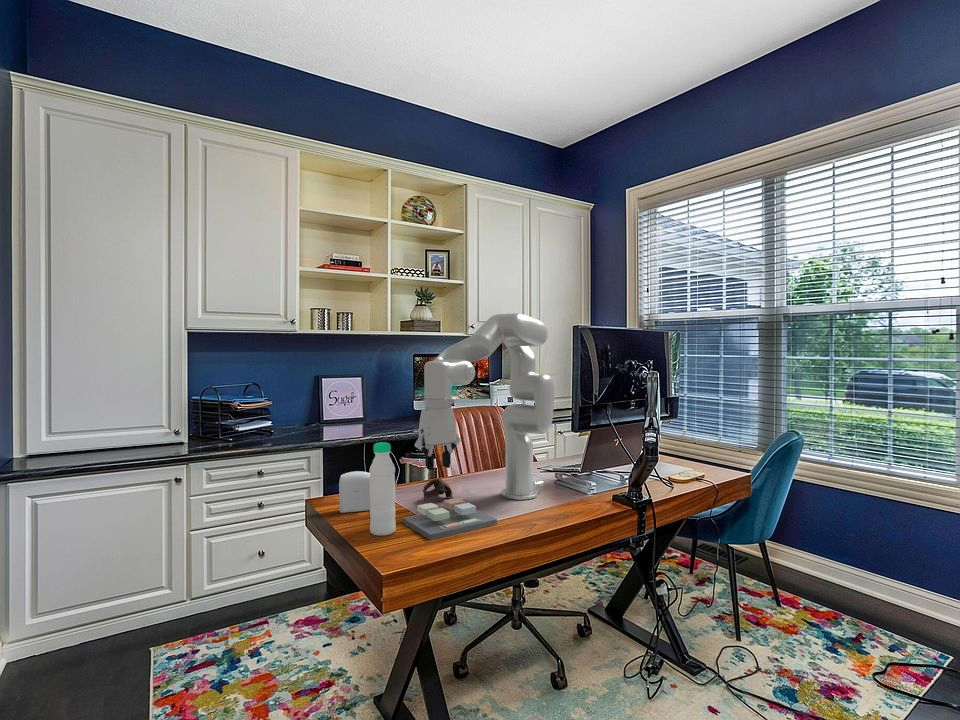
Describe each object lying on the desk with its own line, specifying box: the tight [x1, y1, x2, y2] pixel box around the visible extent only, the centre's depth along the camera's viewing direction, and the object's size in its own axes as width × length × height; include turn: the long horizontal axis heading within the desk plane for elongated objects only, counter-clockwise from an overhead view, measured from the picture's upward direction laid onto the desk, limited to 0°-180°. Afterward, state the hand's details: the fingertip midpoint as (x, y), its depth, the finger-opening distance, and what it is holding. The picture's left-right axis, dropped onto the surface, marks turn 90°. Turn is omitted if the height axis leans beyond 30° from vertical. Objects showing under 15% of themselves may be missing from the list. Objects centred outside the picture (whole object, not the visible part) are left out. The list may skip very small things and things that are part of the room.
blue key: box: [454, 502, 477, 515], centre depth 157 cm, size 5×4×2 cm
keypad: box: [402, 508, 498, 541], centre depth 156 cm, size 22×17×2 cm
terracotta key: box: [443, 497, 466, 510], centre depth 162 cm, size 5×4×2 cm
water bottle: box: [369, 441, 397, 537], centre depth 149 cm, size 7×7×25 cm
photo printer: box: [338, 470, 371, 514], centre depth 168 cm, size 10×4×12 cm, turn 104°
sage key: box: [427, 507, 450, 521], centre depth 152 cm, size 5×4×2 cm
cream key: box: [416, 502, 440, 515], centre depth 157 cm, size 5×4×2 cm
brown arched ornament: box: [422, 478, 454, 502], centre depth 180 cm, size 12×10×8 cm
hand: (438, 467), depth 152 cm, fingers open, 4 cm apart
